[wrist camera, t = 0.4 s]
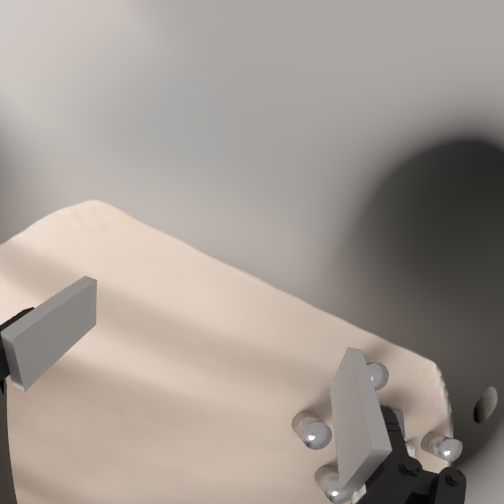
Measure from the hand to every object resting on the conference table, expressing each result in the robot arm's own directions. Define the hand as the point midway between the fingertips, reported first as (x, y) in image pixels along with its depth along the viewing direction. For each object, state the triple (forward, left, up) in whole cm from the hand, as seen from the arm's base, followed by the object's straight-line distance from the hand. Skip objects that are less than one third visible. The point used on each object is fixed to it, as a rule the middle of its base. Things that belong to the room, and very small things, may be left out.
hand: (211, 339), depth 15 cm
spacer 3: (-10, -20, -34) cm, 41 cm away
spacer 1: (-16, -10, -34) cm, 39 cm away
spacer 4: (-29, -33, -34) cm, 56 cm away
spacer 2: (-27, -12, -34) cm, 46 cm away
